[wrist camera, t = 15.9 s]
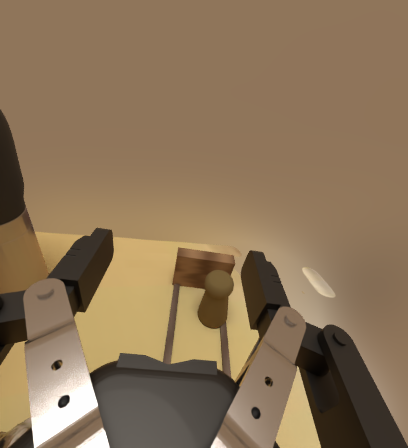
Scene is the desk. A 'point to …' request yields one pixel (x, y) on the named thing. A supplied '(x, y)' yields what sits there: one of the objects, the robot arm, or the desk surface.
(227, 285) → the cork
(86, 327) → the desk surface
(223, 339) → the lane
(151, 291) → the desk surface
